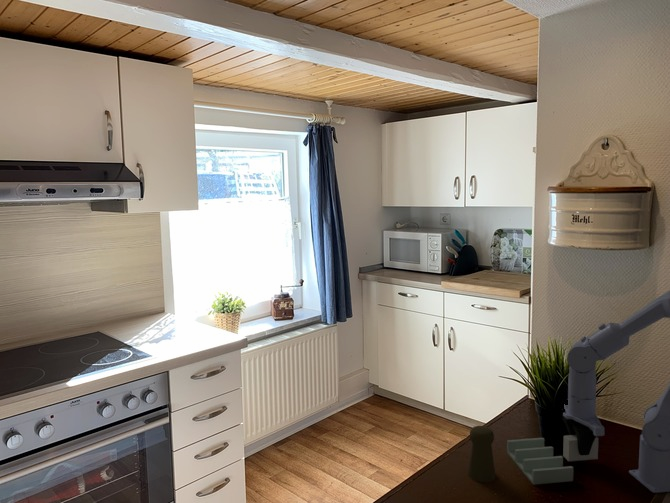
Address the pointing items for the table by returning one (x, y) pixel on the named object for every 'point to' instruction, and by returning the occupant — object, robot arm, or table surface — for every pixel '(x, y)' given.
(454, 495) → the table surface
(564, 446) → the white rectangular block
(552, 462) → the rack
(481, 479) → the dark green pepper mill
